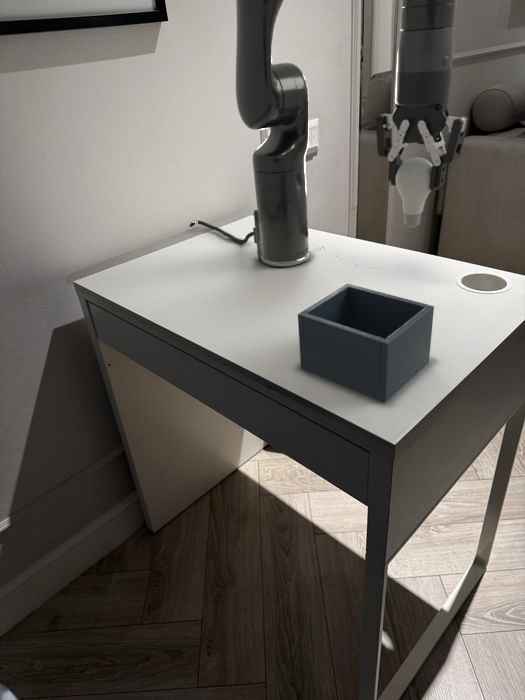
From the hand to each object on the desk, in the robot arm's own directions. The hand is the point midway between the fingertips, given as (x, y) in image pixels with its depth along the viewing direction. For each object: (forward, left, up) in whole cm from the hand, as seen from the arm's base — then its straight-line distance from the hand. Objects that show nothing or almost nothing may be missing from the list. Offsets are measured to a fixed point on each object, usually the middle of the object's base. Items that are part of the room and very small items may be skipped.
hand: (414, 186), depth 82 cm
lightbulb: (0, 0, -7) cm, 7 cm away
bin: (+9, -28, -15) cm, 33 cm away
